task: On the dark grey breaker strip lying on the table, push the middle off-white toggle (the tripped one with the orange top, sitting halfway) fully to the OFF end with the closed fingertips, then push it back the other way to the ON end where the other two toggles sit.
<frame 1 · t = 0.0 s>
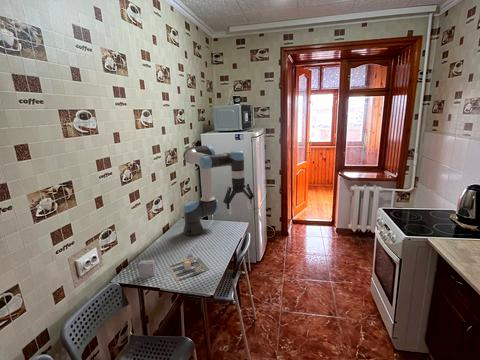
hand: (239, 211, 158), 28 cm above the table, fingers open, 13 cm apart
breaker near: (198, 268, 143), point 3 cm above the table, slide at 8.0 cm, touching panel
panel: (191, 270, 148), on the table
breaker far: (190, 258, 153), point 4 cm above the table, slide at 8.0 cm
medicine box: (148, 276, 144), on the table
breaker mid: (187, 265, 146), point 3 cm above the table, slide at 4.0 cm
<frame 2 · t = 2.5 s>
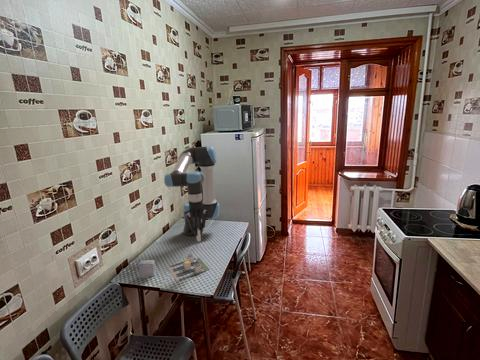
hand: (198, 240, 147), 17 cm above the table, fingers closed
nothing on the table moved.
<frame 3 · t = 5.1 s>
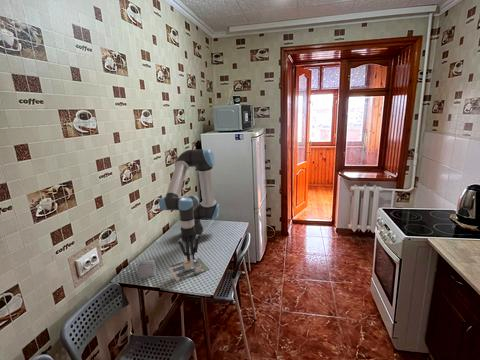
hand: (191, 264, 147), 3 cm above the table, fingers closed
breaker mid: (187, 265, 146), point 3 cm above the table, slide at 4.0 cm, touching gripper
everything else where it was.
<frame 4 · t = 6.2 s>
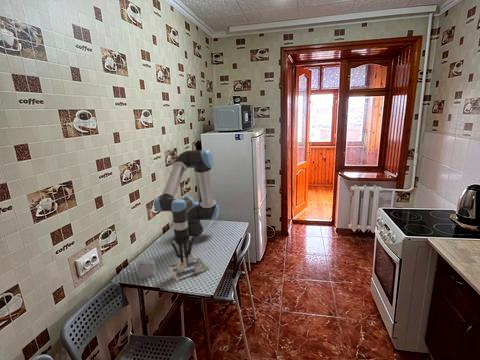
hand: (184, 267, 145), 3 cm above the table, fingers closed
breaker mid: (180, 267, 144), point 3 cm above the table, slide at 0.2 cm, touching gripper
everything else where it was.
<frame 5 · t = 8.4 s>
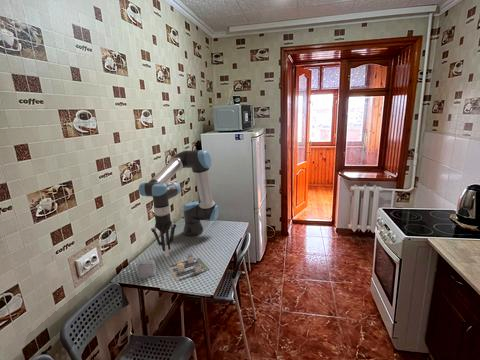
hand: (166, 255, 138), 13 cm above the table, fingers closed
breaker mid: (180, 267, 144), point 3 cm above the table, slide at 0.2 cm
everything else where it was.
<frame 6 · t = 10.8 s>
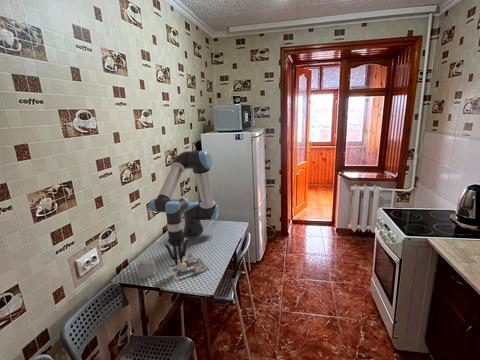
hand: (179, 269, 144), 3 cm above the table, fingers closed
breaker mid: (183, 267, 145), point 3 cm above the table, slide at 1.5 cm, touching gripper
everything else where it was.
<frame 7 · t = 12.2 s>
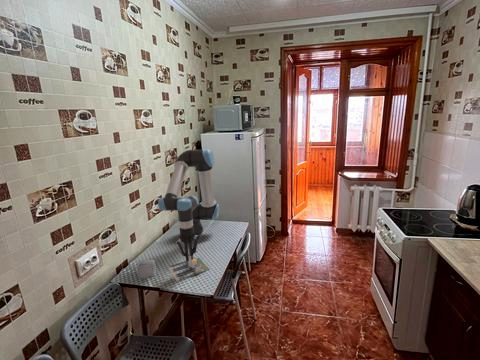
hand: (190, 265, 147), 3 cm above the table, fingers closed
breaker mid: (193, 263, 148), point 3 cm above the table, slide at 7.8 cm, touching gripper
everything else where it was.
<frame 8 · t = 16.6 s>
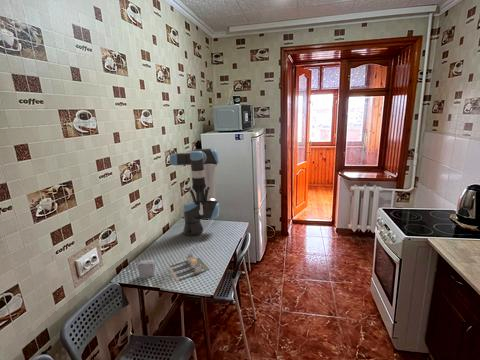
hand: (201, 214, 160), 26 cm above the table, fingers closed
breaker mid: (193, 263, 148), point 3 cm above the table, slide at 7.9 cm
everything else where it was.
at the end: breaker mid slide at 7.9 cm; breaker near slide at 8.0 cm; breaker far slide at 8.0 cm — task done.
